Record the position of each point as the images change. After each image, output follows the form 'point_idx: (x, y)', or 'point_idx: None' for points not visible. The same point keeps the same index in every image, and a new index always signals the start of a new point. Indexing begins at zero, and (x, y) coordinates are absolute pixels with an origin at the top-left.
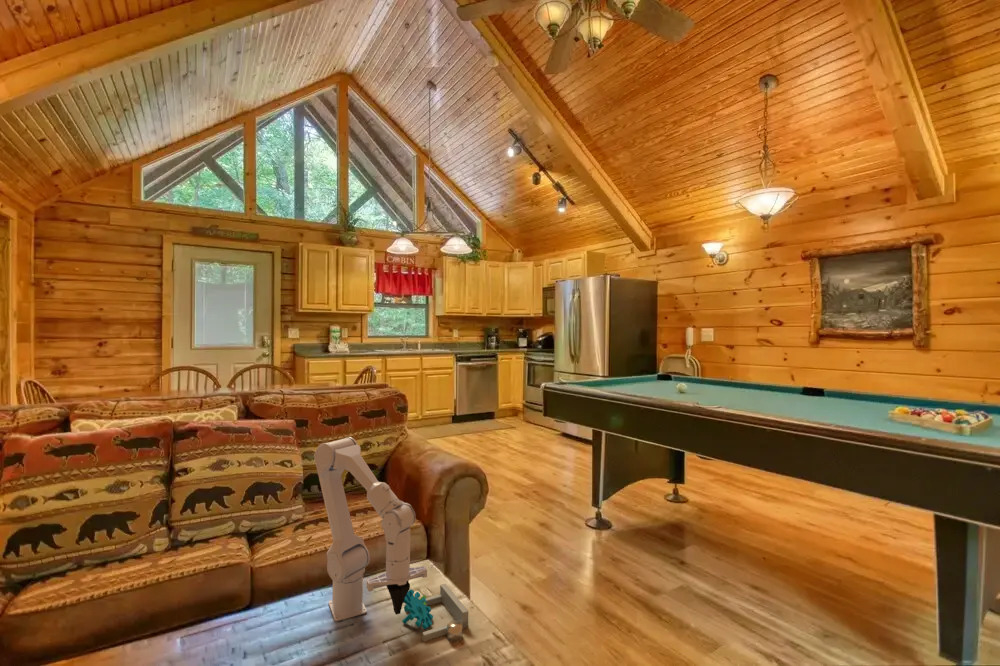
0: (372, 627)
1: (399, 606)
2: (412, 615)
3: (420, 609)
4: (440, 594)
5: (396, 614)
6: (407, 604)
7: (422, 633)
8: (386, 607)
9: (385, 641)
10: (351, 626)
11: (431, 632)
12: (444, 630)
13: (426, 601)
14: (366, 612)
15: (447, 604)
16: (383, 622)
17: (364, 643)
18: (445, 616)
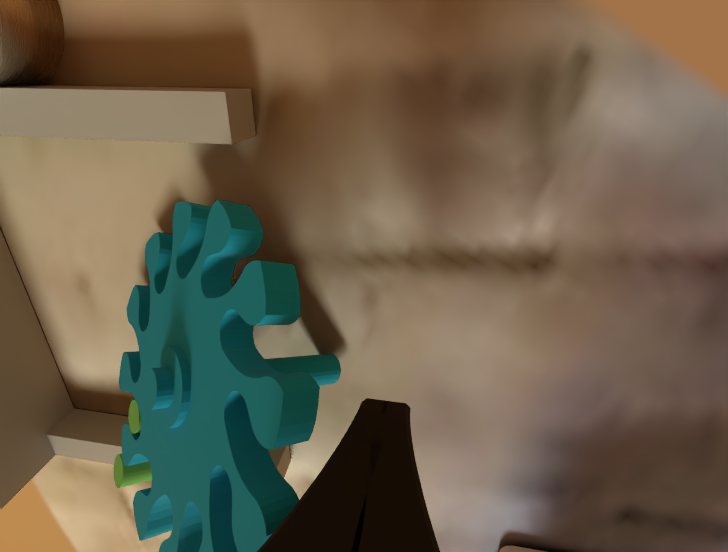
0: (535, 431)
1: (365, 462)
2: (255, 294)
3: (168, 361)
4: (53, 451)
5: (405, 404)
6: (260, 452)
7: (236, 142)
8: None
9: (531, 258)
10: (646, 503)
11: (154, 96)
12: (49, 87)
13: (122, 430)
14: (504, 547)
15: (18, 357)
16: (449, 434)
17: (684, 320)
18: (61, 283)
